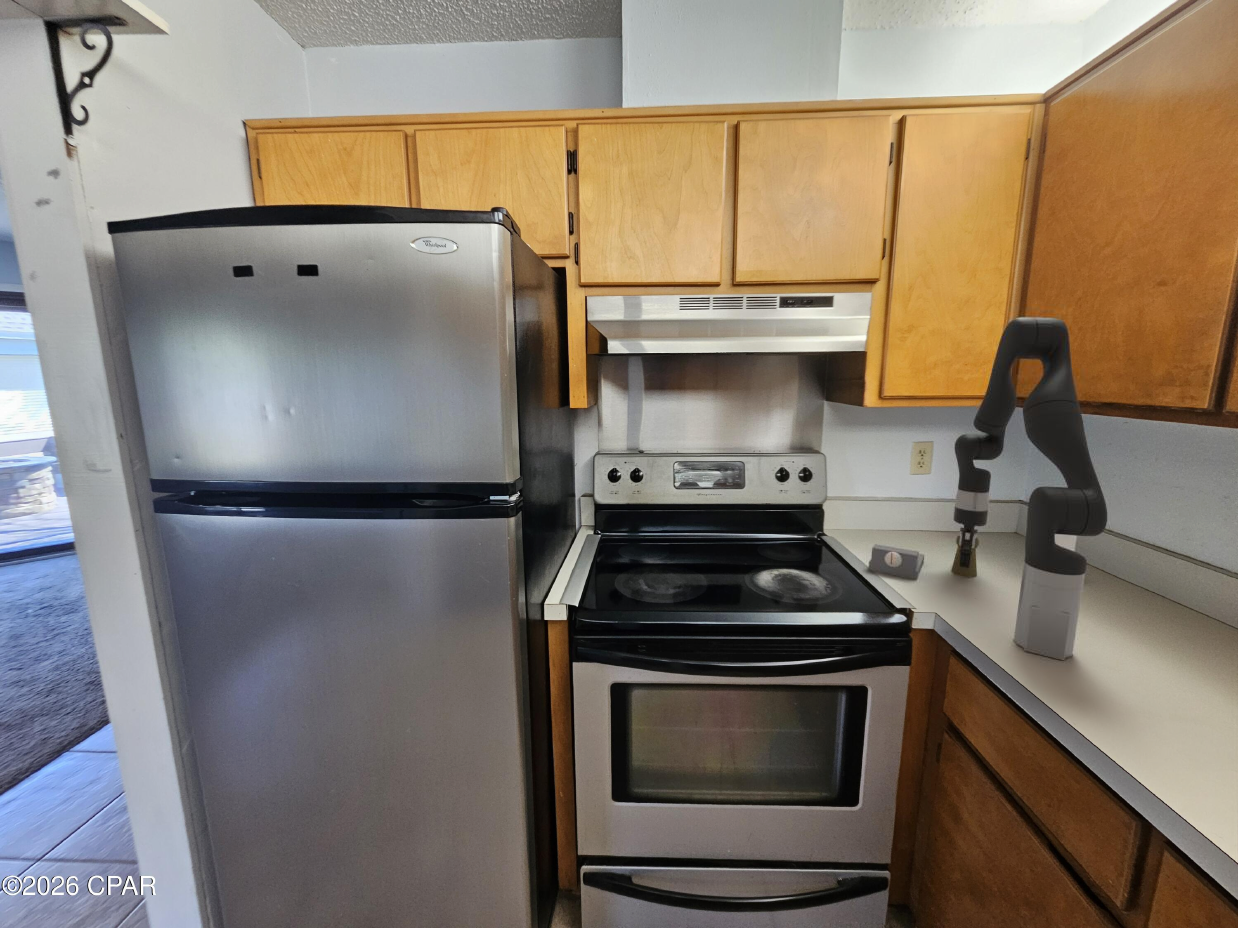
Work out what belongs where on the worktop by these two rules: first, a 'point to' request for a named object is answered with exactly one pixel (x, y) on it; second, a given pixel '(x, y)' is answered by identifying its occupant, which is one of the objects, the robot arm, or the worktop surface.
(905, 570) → the knob on square plate
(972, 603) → the worktop surface
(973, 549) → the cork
